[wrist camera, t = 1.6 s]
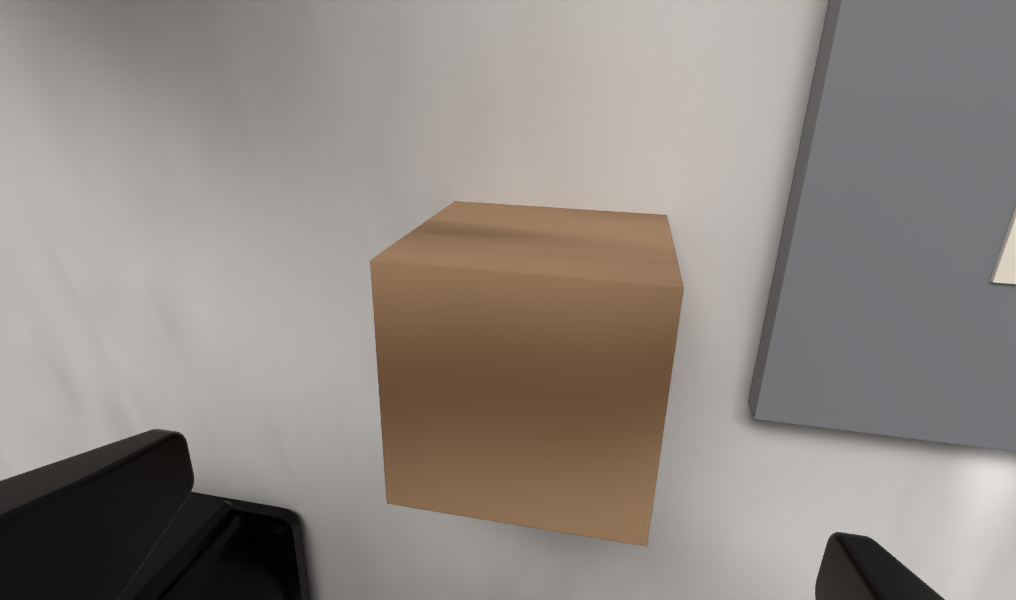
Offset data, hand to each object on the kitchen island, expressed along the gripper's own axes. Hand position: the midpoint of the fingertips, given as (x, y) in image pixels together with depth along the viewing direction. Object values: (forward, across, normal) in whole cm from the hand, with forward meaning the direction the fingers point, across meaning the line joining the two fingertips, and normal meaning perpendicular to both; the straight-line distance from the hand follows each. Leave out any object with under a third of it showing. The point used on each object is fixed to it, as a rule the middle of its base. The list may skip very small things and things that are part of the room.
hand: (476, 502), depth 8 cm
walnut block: (+7, 0, 0) cm, 7 cm away
